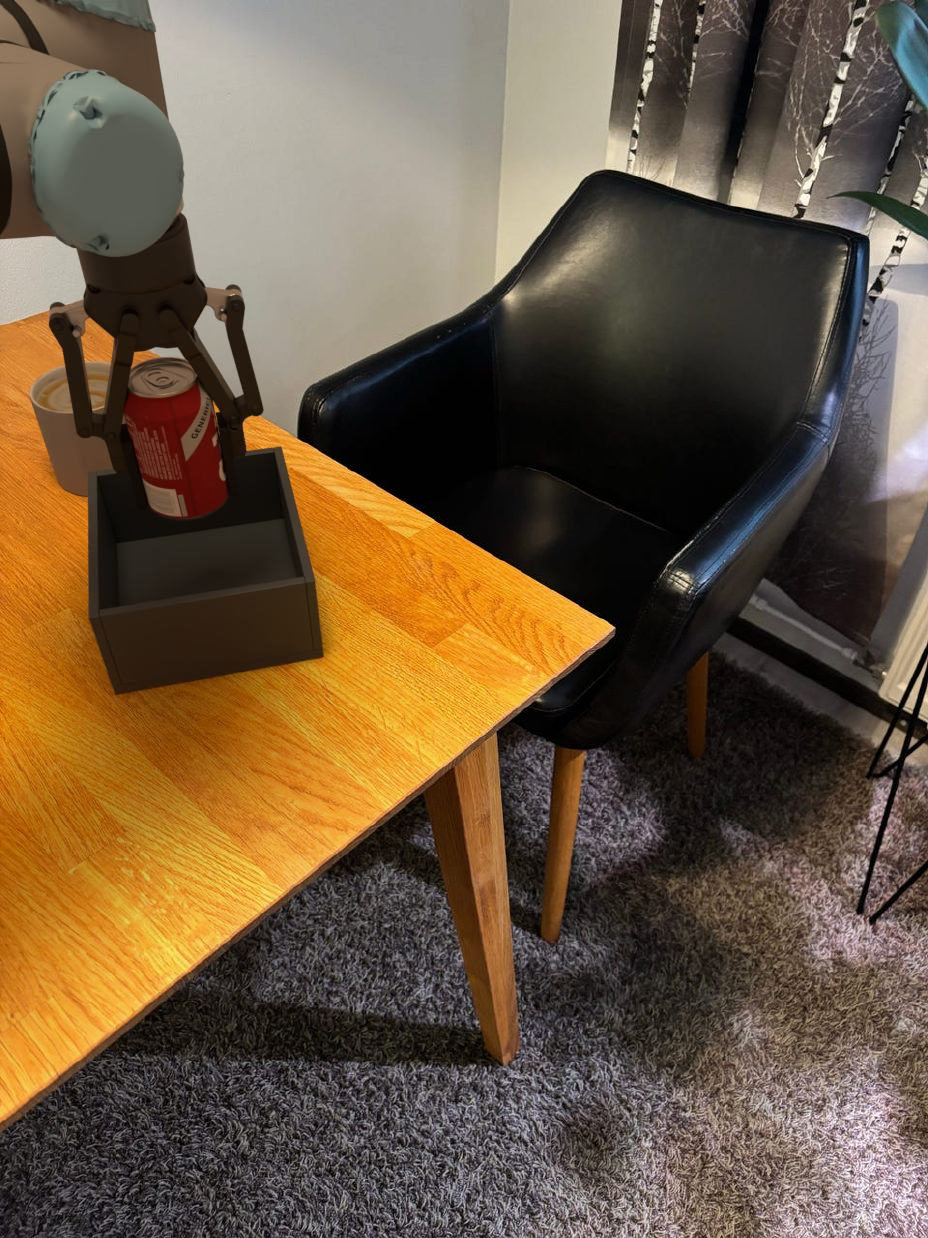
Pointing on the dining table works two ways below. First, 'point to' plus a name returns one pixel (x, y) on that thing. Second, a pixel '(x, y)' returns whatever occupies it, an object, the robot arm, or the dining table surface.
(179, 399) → the soda can
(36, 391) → the coffee mug
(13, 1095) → the dining table surface
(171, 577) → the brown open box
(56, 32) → the robot arm
